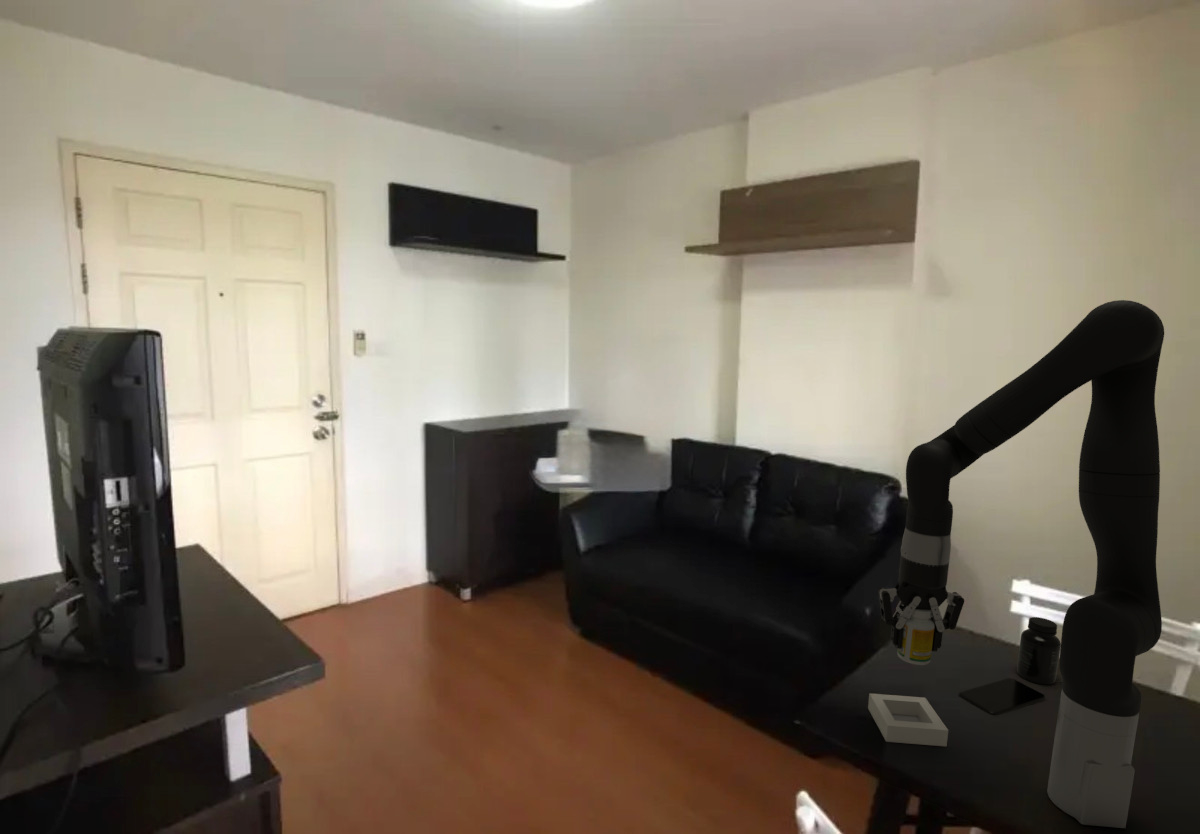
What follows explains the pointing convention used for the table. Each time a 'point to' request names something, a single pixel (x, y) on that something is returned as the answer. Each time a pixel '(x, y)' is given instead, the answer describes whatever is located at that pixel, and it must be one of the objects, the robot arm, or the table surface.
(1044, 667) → the supplement bottle
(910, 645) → the supplement bottle
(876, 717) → the socket plate
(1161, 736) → the table surface
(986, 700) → the smartphone
